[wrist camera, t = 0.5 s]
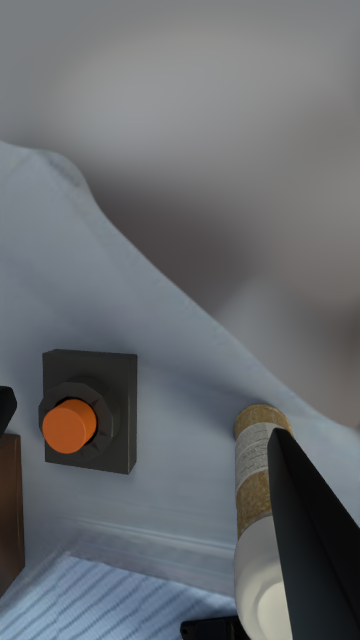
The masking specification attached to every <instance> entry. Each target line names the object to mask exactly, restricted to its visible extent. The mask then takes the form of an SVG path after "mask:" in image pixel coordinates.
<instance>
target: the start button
mask: <svg viewBox="0 0 360 640" xmlns="http://www.w3.org/2000/svg"><path fill="white" fill-rule="evenodd" d="M96 425H97V421H96V416H95V413H94V411H93V410H92V408H91V407H90V406H89V405H88V404H87V403H85V402H83V401H81V400H77V399H70V400H67V401H65V402H63V403H62V404H60V405H59V406H57V407H55V408H54V409H52V410H51V411H49V412H48V413H47V415H46V416H45V418H44V421H43V427H42V428H43V434H44V437H45V439H46V441H47V443H48V444H49V445H50V446H51V447H52V448H53V449H54V450H56V451H58V452H61V453H73V452H76V451H77V450H79V449H80V448H81V447H82V446H83V445H84V444H85V443H86V442H87V441H88V440H89V439H90V438H91V437H92V436H93V434H94V432H95V430H96Z"/></svg>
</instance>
